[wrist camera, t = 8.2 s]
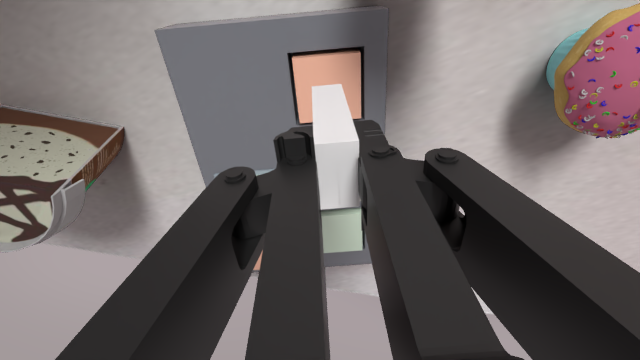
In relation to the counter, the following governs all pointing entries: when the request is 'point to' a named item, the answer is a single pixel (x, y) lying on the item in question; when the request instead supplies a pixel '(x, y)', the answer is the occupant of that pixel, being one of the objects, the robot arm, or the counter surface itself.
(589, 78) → the cupcake
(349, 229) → the key sage
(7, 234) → the food container
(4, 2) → the counter surface
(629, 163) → the counter surface
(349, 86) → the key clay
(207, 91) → the keypad
